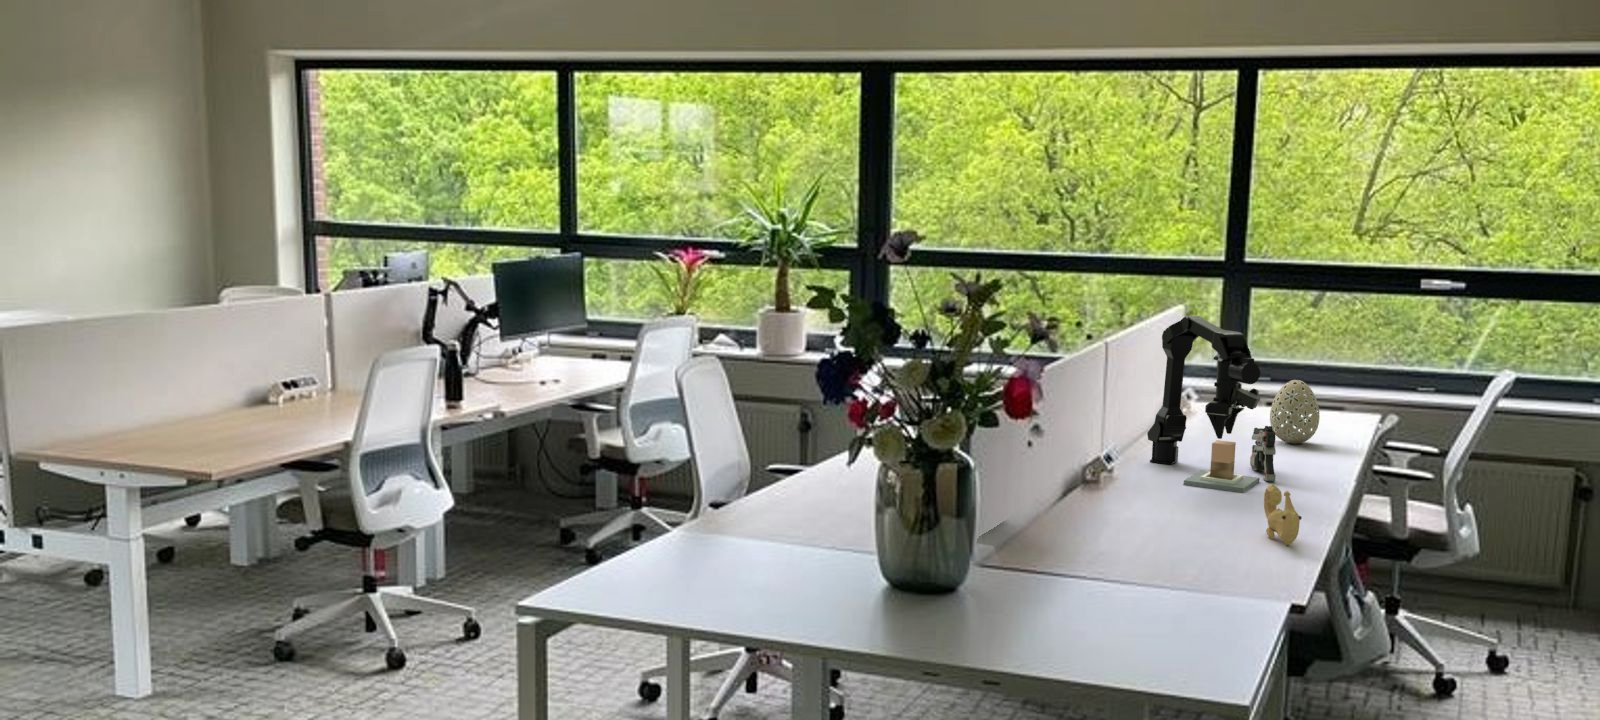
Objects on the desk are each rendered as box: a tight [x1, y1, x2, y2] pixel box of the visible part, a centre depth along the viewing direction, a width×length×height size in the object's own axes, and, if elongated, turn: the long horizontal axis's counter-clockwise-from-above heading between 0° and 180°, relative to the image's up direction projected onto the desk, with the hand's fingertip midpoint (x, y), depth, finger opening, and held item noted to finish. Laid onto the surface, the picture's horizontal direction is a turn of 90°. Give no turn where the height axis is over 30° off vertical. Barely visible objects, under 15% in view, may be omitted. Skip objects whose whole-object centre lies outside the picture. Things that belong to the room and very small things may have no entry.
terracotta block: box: [1210, 439, 1237, 463], centre depth 387 cm, size 5×5×5 cm
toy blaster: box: [1249, 425, 1277, 482], centre depth 400 cm, size 4×21×15 cm, turn 174°
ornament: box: [1269, 379, 1320, 445], centre depth 447 cm, size 15×15×20 cm
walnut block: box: [1209, 460, 1236, 480], centre depth 388 cm, size 5×5×5 cm
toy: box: [1263, 483, 1302, 546], centre depth 328 cm, size 5×12×20 cm
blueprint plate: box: [1183, 469, 1260, 493], centre depth 388 cm, size 16×16×2 cm
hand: (1224, 436), depth 386 cm, fingers open, 9 cm apart
